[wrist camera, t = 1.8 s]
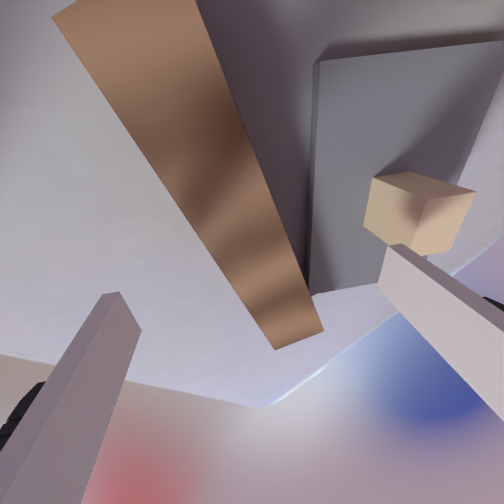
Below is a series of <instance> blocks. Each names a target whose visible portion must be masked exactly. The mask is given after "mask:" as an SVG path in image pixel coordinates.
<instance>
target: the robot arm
mask: <svg viewBox="0 0 504 504" xmlns="http://www.w3.org/2000/svg"><path fill="white" fill-rule="evenodd" d="M377 288H378V289H379V290H380V291H381V292H382V294H383V295H384V296H385V297H386V298H387V299H388V300H389V301H390V302H391V303H392V304H393V305H394V306H395V307H396V308H397V309H398V310H399V311H400V313H401V314H402V315H403V316H404V317H405V318H406V319H407V320H408V321H409V322H410V323H411V324H412V325H413V326H414V327H415V328H416V329H417V330H418V331H419V332H420V334H421V335H422V336H423V337H424V338H425V339H426V340H427V341H428V342H429V343H430V344H431V345H432V346H433V347H434V348H435V349H436V350H437V351H438V353H439V354H440V355H441V356H442V357H443V358H444V359H445V360H446V361H447V362H448V363H449V364H450V365H451V366H452V367H453V368H454V369H455V371H456V372H457V373H459V375H460V376H461V377H462V378H463V379H464V380H465V381H466V382H467V383H468V384H469V385H470V386H471V387H472V388H473V389H474V390H475V392H476V393H477V394H478V395H479V396H480V397H481V398H482V399H483V400H484V401H485V402H486V403H487V404H488V405H489V406H490V407H491V408H492V410H493V411H494V412H495V413H497V415H498V416H499V417H500V418H501V419H502V420H503V421H504V305H503V304H501V303H499V302H496V301H494V300H492V299H490V298H487V297H481V296H479V295H478V294H476V293H475V292H473V291H472V290H471V289H469V288H468V287H466V286H465V285H463V284H461V283H460V282H459V281H457V280H456V279H454V278H453V277H451V276H450V275H448V274H447V273H445V272H444V271H442V270H441V269H439V268H438V267H436V266H435V265H433V264H432V263H430V262H429V261H427V260H426V259H425V258H423V257H422V256H420V255H419V254H417V253H416V252H414V251H413V250H411V249H410V248H408V247H407V246H405V245H404V244H402V243H401V244H395V245H389V246H387V250H386V254H385V258H384V262H383V265H382V269H381V273H380V277H379V281H378V285H377ZM140 333H141V328H140V327H139V325H138V323H137V322H136V320H135V318H134V316H133V315H132V313H131V311H130V309H129V308H128V306H127V304H126V302H125V301H124V299H123V297H122V295H121V294H120V292H114V293H108V294H102V296H101V297H100V299H99V300H98V302H97V303H96V305H95V306H94V308H93V310H92V311H91V313H90V314H89V316H88V317H87V319H86V320H85V322H84V323H83V325H82V327H81V328H80V330H79V331H78V333H77V334H76V336H75V337H74V339H73V340H72V342H71V344H70V345H69V347H68V348H67V350H66V351H65V353H64V354H63V356H62V357H61V359H60V361H59V362H58V364H57V365H56V367H55V368H54V370H53V371H52V373H51V375H50V376H49V378H48V379H47V381H45V382H40V383H38V384H36V385H35V386H34V387H33V388H32V389H31V390H30V391H29V392H28V393H27V394H26V395H25V396H24V397H23V398H22V399H21V400H20V402H19V403H18V405H17V406H16V407H15V409H14V410H13V412H12V413H11V415H10V416H9V417H8V419H7V423H6V424H4V425H3V426H2V428H1V429H0V504H80V503H81V500H82V498H83V495H84V492H85V489H86V486H87V484H88V481H89V478H90V475H91V472H92V469H93V466H94V464H95V461H96V458H97V455H98V452H99V449H100V447H101V444H102V441H103V438H104V435H105V433H106V429H107V427H108V424H109V421H110V418H111V416H112V413H113V410H114V407H115V404H116V401H117V398H118V396H119V393H120V390H121V387H122V384H123V381H124V379H125V376H126V373H127V370H128V367H129V364H130V362H131V359H132V356H133V353H134V350H135V347H136V345H137V342H138V339H139V336H140Z"/></svg>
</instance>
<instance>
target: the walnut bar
mask: <svg viewBox="0 0 504 504" xmlns="http://www.w3.org/2000/svg"><path fill="white" fill-rule="evenodd" d="M52 19H53V20H54V22H55V23H56V25H57V26H58V28H59V29H60V31H61V32H62V34H63V35H64V37H65V38H66V40H67V41H68V43H69V44H70V46H71V47H72V49H73V50H74V52H75V53H76V55H77V56H78V58H79V59H80V61H81V62H82V64H83V65H84V67H85V68H86V69H87V71H88V72H89V74H90V75H91V77H92V78H93V80H94V81H95V83H96V84H97V86H98V87H99V89H100V90H101V92H102V93H103V95H104V96H105V98H106V99H107V101H108V102H109V104H110V105H111V107H112V108H113V110H114V111H115V113H116V114H117V116H118V117H119V119H120V120H121V122H122V123H123V125H124V126H125V128H126V129H127V131H128V132H129V134H130V135H131V137H132V138H133V140H134V141H135V143H136V144H137V146H138V147H139V149H140V150H141V151H142V153H143V154H144V156H145V157H146V159H147V160H148V162H149V163H150V165H151V166H152V168H153V169H154V171H155V172H156V174H157V175H158V177H159V178H160V180H161V181H162V183H163V184H164V186H165V187H166V189H167V190H168V192H169V193H170V195H171V196H172V198H173V199H174V201H175V202H176V204H177V205H178V207H179V208H180V210H181V211H182V213H183V214H184V216H185V217H186V219H187V220H188V222H189V223H190V225H191V226H192V228H193V229H194V231H195V232H196V233H197V235H198V236H199V238H200V239H201V241H202V242H203V244H204V245H205V247H206V248H207V250H208V251H209V253H210V254H211V256H212V257H213V259H214V260H215V262H216V263H217V265H218V266H219V268H220V269H221V271H222V272H223V274H224V275H225V277H226V278H227V280H228V281H229V283H230V284H231V286H232V287H233V289H234V290H235V292H236V293H237V295H238V296H239V298H240V299H241V301H242V302H243V304H244V305H245V307H246V308H247V310H248V311H249V313H250V314H251V315H252V317H253V318H254V320H255V321H256V323H257V324H258V326H259V327H260V329H261V330H262V332H263V333H264V335H265V336H266V338H267V339H268V341H269V342H270V344H271V345H272V347H273V348H274V350H277V349H280V348H282V347H285V346H287V345H290V344H292V343H295V342H297V341H300V340H303V339H305V338H308V337H310V336H313V335H315V334H318V333H321V332H323V331H324V329H323V326H322V324H321V321H320V319H319V316H318V314H317V311H316V309H315V306H314V303H313V301H312V298H311V296H310V293H309V291H308V288H307V286H306V283H305V280H304V278H303V275H302V273H301V270H300V268H299V265H298V263H297V260H296V257H295V255H294V252H293V250H292V247H291V245H290V242H289V239H288V237H287V234H286V232H285V229H284V227H283V224H282V222H281V219H280V216H279V214H278V211H277V209H276V206H275V204H274V201H273V199H272V196H271V193H270V191H269V188H268V186H267V183H266V181H265V178H264V175H263V173H262V170H261V168H260V165H259V163H258V160H257V158H256V155H255V152H254V150H253V147H252V145H251V142H250V140H249V137H248V135H247V132H246V129H245V127H244V124H243V122H242V119H241V117H240V114H239V112H238V109H237V106H236V104H235V101H234V99H233V96H232V94H231V91H230V88H229V86H228V83H227V81H226V78H225V76H224V73H223V71H222V68H221V65H220V63H219V60H218V58H217V55H216V53H215V50H214V48H213V45H212V42H211V40H210V37H209V35H208V32H207V30H206V27H205V25H204V22H203V19H202V17H201V14H200V12H199V9H198V7H197V4H196V1H195V0H78V1H76V2H75V3H73V4H71V5H70V6H68V7H67V8H65V9H63V10H62V11H60V12H59V13H57V14H56V15H54V16H52Z"/></svg>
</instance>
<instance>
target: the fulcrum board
mask: <svg viewBox="0 0 504 504" xmlns="http://www.w3.org/2000/svg"><path fill="white" fill-rule="evenodd" d="M503 71H504V40H500V41H491V42H482V43H474V44H465V45H456V46H447V47H438V48H429V49H421V50H412V51H403V52H394V53H385V54H376V55H368V56H359V57H350V58H341V59H332V60H323V61H319V62H317V63H315V64H314V70H313V96H312V121H311V147H310V173H309V198H308V224H307V249H306V275H305V283H306V286H307V288H308V291H309V293H310V295H312V294H317V293H323V292H328V291H334V290H339V289H344V288H350V287H355V286H361V285H366V284H372V283H377V282H378V281H379V277H380V273H381V269H382V265H383V262H384V258H385V254H386V250H387V246H389V245H395V244H401V243H402V244H404V245H405V246H407V247H408V248H410V249H411V250H413V251H414V252H416V253H417V254H419V255H420V256H422V257H423V258H425V259H427V256H428V255H430V254H436V253H442V252H447V251H449V250H450V248H451V246H452V244H453V242H454V240H455V238H456V236H457V233H458V231H459V229H460V227H461V225H462V223H463V221H464V218H465V216H466V214H467V212H468V210H469V208H470V206H471V203H472V201H473V199H474V197H475V195H476V193H477V192H476V191H473V190H469V189H466V188H463V187H459V186H457V183H458V181H459V178H460V176H461V173H462V171H463V168H464V166H465V164H466V161H467V159H468V156H469V154H470V151H471V149H472V146H473V144H474V142H475V139H476V137H477V134H478V132H479V129H480V127H481V124H482V122H483V120H484V117H485V115H486V112H487V110H488V107H489V105H490V102H491V100H492V98H493V95H494V93H495V90H496V88H497V85H498V83H499V80H500V78H501V76H502V73H503Z"/></svg>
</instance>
